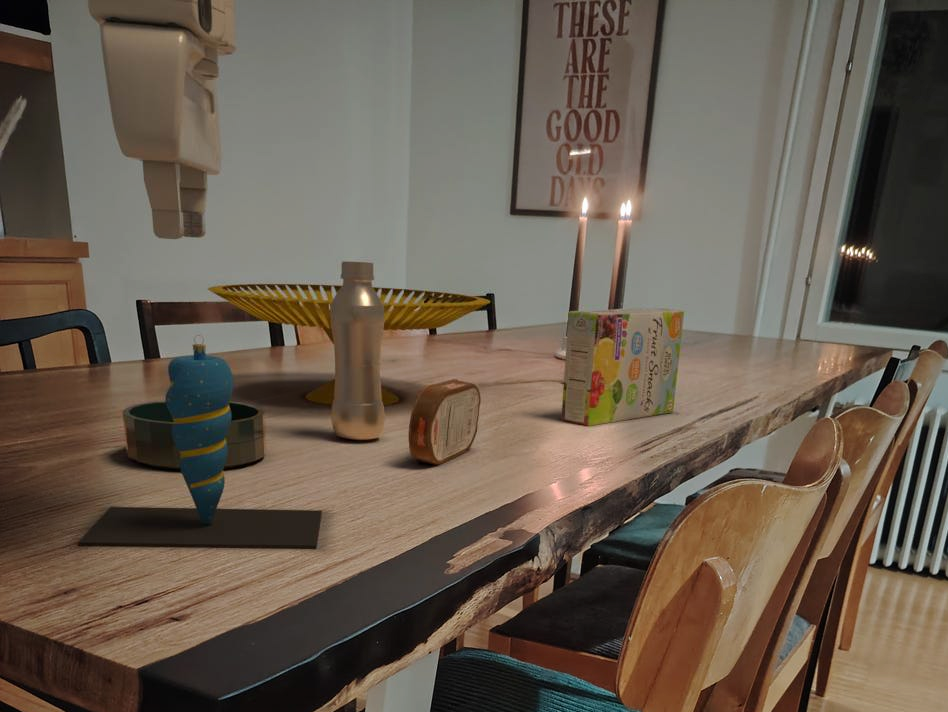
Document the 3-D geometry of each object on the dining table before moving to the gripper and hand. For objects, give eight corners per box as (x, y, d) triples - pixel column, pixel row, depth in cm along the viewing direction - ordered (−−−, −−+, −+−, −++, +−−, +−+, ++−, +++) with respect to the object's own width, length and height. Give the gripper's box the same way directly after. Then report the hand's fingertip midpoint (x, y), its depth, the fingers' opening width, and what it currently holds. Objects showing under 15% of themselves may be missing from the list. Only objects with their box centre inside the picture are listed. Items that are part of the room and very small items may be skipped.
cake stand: (477, 384, 160) (481, 291, 154) (496, 429, 123) (502, 309, 117) (240, 374, 156) (235, 279, 150) (185, 417, 119) (176, 294, 114)
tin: (458, 445, 112) (461, 373, 109) (482, 448, 111) (486, 376, 108) (404, 469, 99) (406, 389, 96) (431, 473, 98) (434, 392, 95)
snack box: (644, 408, 145) (656, 306, 139) (674, 413, 142) (688, 310, 136) (557, 420, 131) (567, 308, 125) (589, 427, 128) (600, 312, 122)
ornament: (188, 514, 79) (174, 329, 73) (248, 517, 79) (239, 333, 73) (167, 531, 74) (150, 336, 68) (231, 535, 74) (219, 340, 68)
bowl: (113, 472, 92) (107, 421, 90) (144, 442, 105) (139, 397, 103) (258, 475, 94) (256, 425, 92) (271, 445, 107) (269, 401, 105)
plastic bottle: (346, 447, 108) (344, 262, 100) (321, 436, 113) (318, 260, 105) (394, 443, 112) (397, 264, 104) (369, 432, 117) (369, 261, 109)
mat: (78, 547, 71) (77, 542, 71) (110, 511, 80) (110, 506, 80) (316, 550, 73) (316, 545, 73) (321, 514, 82) (321, 510, 82)
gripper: (152, 39, 71) (165, 234, 77) (76, -27, 53) (101, 236, 58) (235, 46, 72) (243, 239, 78) (190, -16, 54) (204, 243, 59)
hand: (181, 238), depth 68 cm, fingers open, 8 cm apart
